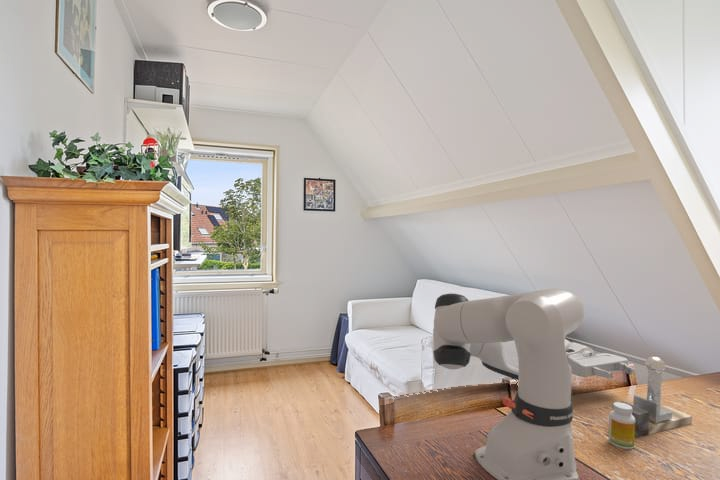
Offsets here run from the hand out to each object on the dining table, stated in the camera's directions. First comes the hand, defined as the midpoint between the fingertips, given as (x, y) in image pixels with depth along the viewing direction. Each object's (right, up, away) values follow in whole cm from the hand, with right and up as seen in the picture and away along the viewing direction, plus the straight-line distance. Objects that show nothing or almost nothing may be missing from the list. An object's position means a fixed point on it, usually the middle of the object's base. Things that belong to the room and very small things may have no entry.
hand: (622, 373), depth 117 cm
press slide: (+3, -9, -8) cm, 12 cm away
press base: (+3, -11, -8) cm, 14 cm away
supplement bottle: (-12, -11, -18) cm, 25 cm away
